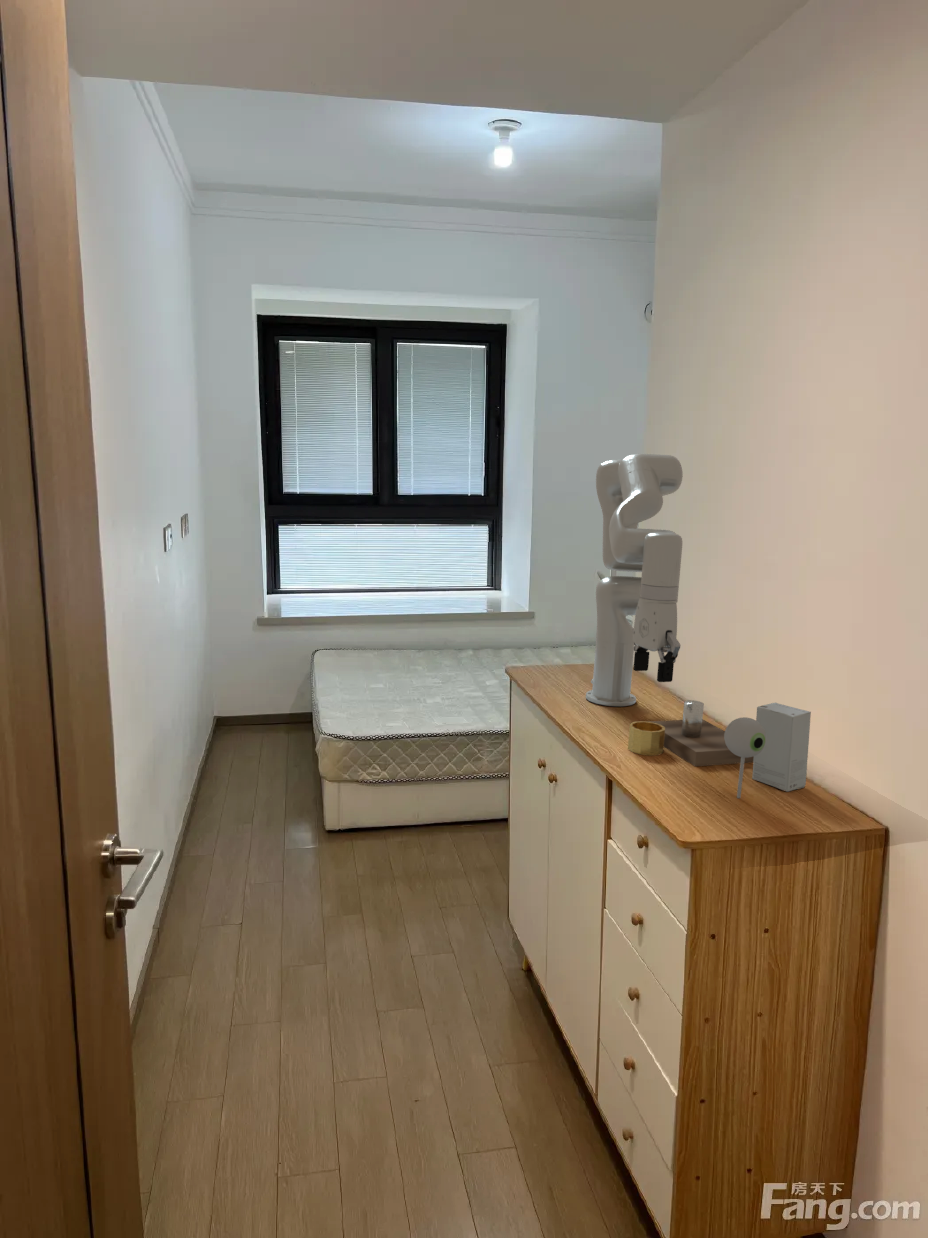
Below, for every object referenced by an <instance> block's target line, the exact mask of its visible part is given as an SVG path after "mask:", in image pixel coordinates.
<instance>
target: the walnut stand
mask: <svg viewBox="0 0 928 1238" xmlns="http://www.w3.org/2000/svg"><path fill="white" fill-rule="evenodd" d="M682 721H683V719H675V720H671V719H670V720H655V721H653V720H652V721H650V722H653V723H657V724H660V725H662V726H664V727H665V735H664V746H663V748H665V749H667V750H668V751H670V752H671V753H673V754H675V755H676V756H677V757H680V758H681V759H683V760H684V761H686V762H687V763H689V764H691V765H693V766H694V767H704V766H706V767H707V766H717V765H734V764H740V762H741V757H739V756H737V755H735V754H733V753H732V752H731V751H730V750H729V749H728V747H727V746H726V743H725V739H724V734H725V730H723V729H722V728H720V727H718V726H716V725H714V724H712V723H711V722H709V721H706V720H705V719H703V718H702V728H701V737H699V738H690V737H685V736H683V735H682V734H681V731H682ZM753 761H754V756H753V757H748V758H745V761H744V764H745V763H746V764H747V763H753Z"/></svg>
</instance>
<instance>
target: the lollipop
mask: <svg viewBox="0 0 928 1238" xmlns="http://www.w3.org/2000/svg"><path fill="white" fill-rule="evenodd" d="M724 731H725V734H724V739H725V743H726V746H727V747H728V749H729V750H730V751H731V752H732V753H733V754H735V755H737V756H739V757H741V762H740V763H739V773H738V780H737V781H738V782H737V790H736V791H737V792H736V799H741V795H742V788H743V780H744V779H743V777H744V769H745V763H744V761H745V758H748V757H753V756H755V755H757V754H759V753H760V752H761V751H762V750H763V749H764V746H765V744H766V733H765V730H764V728H763V727H762V725H761V724H760V723H758V722H757V721H756V719H753V718H750V717H739V718H735V719H734V720H732V721H731V722H729V724H728V725H726V728H725V730H724Z"/></svg>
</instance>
